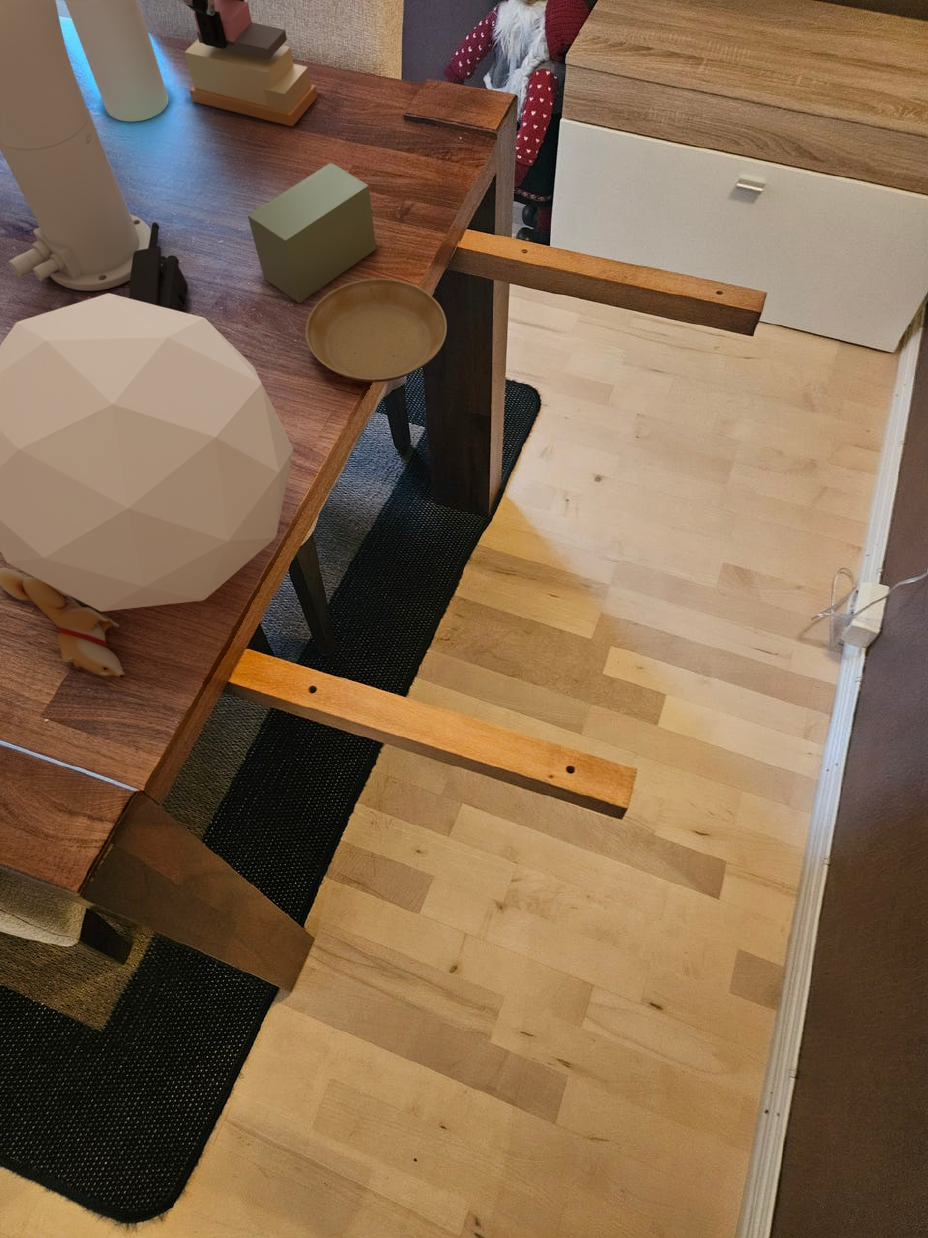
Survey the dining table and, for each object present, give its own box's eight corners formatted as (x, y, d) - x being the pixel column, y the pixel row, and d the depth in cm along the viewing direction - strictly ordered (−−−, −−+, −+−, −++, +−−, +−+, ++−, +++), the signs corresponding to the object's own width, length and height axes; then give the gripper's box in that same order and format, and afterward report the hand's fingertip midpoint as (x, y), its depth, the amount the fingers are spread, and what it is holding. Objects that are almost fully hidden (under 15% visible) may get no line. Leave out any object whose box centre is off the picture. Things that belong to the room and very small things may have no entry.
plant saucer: (472, 327, 91) (472, 307, 89) (400, 416, 85) (398, 398, 83) (359, 280, 95) (356, 261, 93) (282, 364, 89) (277, 345, 87)
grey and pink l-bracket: (287, 39, 105) (281, 9, 102) (269, 59, 103) (263, 29, 100) (217, 23, 107) (210, -7, 104) (199, 42, 105) (191, 12, 102)
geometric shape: (-103, 339, 67) (-139, 595, 55) (136, 163, 60) (156, 410, 48) (124, 486, 87) (136, 700, 74) (324, 366, 80) (373, 579, 68)
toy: (157, 648, 72) (123, 698, 72) (23, 559, 78) (-10, 604, 77) (136, 638, 69) (100, 689, 68) (-3, 546, 74) (-37, 593, 74)
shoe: (317, 96, 112) (309, 48, 106) (292, 126, 109) (283, 78, 103) (219, 73, 114) (207, 24, 109) (192, 101, 111) (178, 52, 106)
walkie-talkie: (189, 344, 87) (202, 213, 96) (128, 319, 83) (147, 186, 92) (169, 379, 91) (183, 251, 100) (109, 357, 88) (129, 227, 97)
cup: (175, 86, 113) (133, -54, 99) (159, 123, 109) (113, -18, 95) (116, 83, 113) (66, -57, 99) (97, 119, 110) (42, -21, 96)
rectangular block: (299, 303, 93) (285, 240, 86) (263, 278, 95) (247, 214, 88) (376, 249, 97) (369, 185, 90) (340, 226, 99) (330, 161, 92)
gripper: (170, -110, 85) (218, 77, 101) (252, -179, 92) (285, 6, 108) (107, -123, 86) (164, 64, 103) (193, -190, 94) (234, -6, 110)
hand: (226, 32), depth 105 cm, fingers closed on grey and pink l-bracket, 4 cm apart
